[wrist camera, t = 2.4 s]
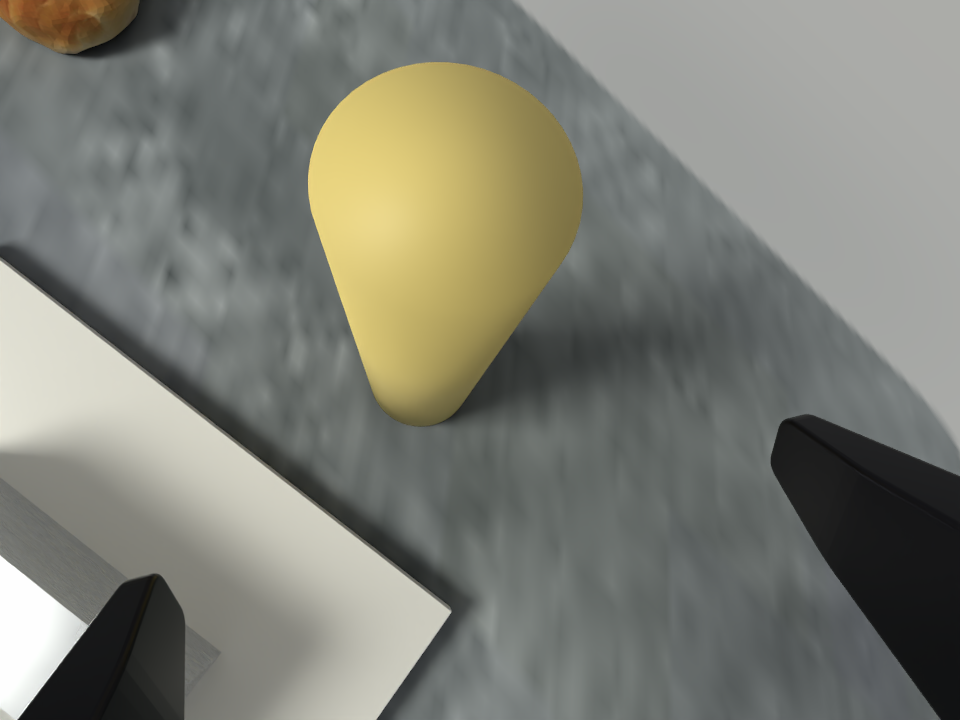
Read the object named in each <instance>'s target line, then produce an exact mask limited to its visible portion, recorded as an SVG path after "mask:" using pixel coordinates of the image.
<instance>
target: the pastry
mask: <svg viewBox="0 0 960 720" xmlns="http://www.w3.org/2000/svg"><path fill="white" fill-rule="evenodd" d="M139 2H140V0H0V17H1V18H2V19H3V20H5V21H6V22H7V23H8V24H9V25H10V26H12V27H13V28H14V29H15V30H17V31H18V32H19V33H21V34H22V35H23V36H25V37H27V38H28V39H30V40H33V41H35V42H37V43H39V44H42V45H44V46H46V47H47V48H49V49H51V50H53V51H55V52H58V53H62V54H65V53H70V54H77V53H79V52H81V51H83V50H85V49H88V48H90V47H94V46H97V45H100V44H102V43H105V42H107V41H109V40H111V39H112V38H114V37H115V36H116V35H118V34H119V33H120V32H121V31H122V30H123V29H124V28H126V27H127V26H128V25H129V24H130V23H131V21H132V20H133V19H134V18H135V17H136V15H137V13H138V6H139Z"/></svg>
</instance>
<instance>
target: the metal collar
mask: <svg viewBox="0 0 960 720" xmlns="http://www.w3.org/2000/svg"><path fill="white" fill-rule="evenodd" d="M126 580H128V578H127V577H125V576H124V575H123V574H122V573H120V572H119V571H118V570H117V569H115V568H114V567H113V566H112V565H110V564H109V563H108V562H106V561H105V560H104V559H103V558H101V557H100V556H99V555H98V554H96V553H95V552H94V551H93V550H91V549H90V548H89V547H87V546H86V545H85V544H84V543H82V542H81V541H80V540H79V539H77V538H76V537H75V536H74V535H72V534H71V533H70V532H69V531H67V530H66V529H65V528H63V527H62V526H61V525H60V524H58V523H57V522H56V521H55V520H53V519H52V518H51V517H50V516H48V515H47V514H46V513H44V512H43V511H42V510H41V509H39V508H38V507H37V506H36V505H34V504H33V503H32V502H31V501H29V500H28V499H27V498H25V497H24V496H23V495H22V494H20V493H19V492H18V491H17V490H15V489H14V488H13V487H12V486H10V485H9V484H8V483H6V482H5V481H4V480H3V479H1V478H0V708H1V709H2V710H3V711H4V712H6V713H7V714H8V715H9V716H11V717H12V718H13V719H14V720H17V719H18V717H19V716H20V715H21V713H22V712H23V711H24V709H25V708H26V707H27V705H28V704H29V703H30V702H31V700H32V699H33V698H34V696H35V695H36V694H37V692H38V691H39V690H40V689H41V687H42V686H43V685H44V683H45V682H46V681H47V679H48V678H49V677H50V675H51V674H52V673H53V672H54V670H55V669H56V668H57V666H58V665H59V664H60V662H61V661H62V660H63V658H64V657H65V656H66V655H67V653H68V652H69V651H70V649H71V648H72V647H73V645H74V644H75V643H76V642H77V640H78V639H79V638H80V636H81V635H82V634H83V632H84V631H85V630H86V628H87V627H88V626H89V625H90V623H91V622H92V621H93V619H94V618H95V617H96V615H97V614H98V613H99V611H100V610H101V609H102V608H103V606H104V605H105V604H106V602H107V601H108V600H109V598H110V597H111V596H112V595H113V593H114V592H115V591H116V589H117V588H118V587H119V586H120V585H121V584H122V583H123V582H124V581H126ZM185 627H186V631H185V698H186V697H187V696H188V694H189V693H190V692H191V691H192V689H193V688H194V687H195V685H196V684H197V683H198V682H199V680H200V679H201V678H202V677H203V675H204V674H205V673H206V671H207V670H208V669H209V668H210V666H211V665H212V664H213V663H214V661H215V660H216V659H217V658H218V656H219V655H220V654H221V652H220V651H219V650H218V649H217V648H215V647H214V646H213V645H212V644H210V643H209V642H208V641H206V640H205V639H204V638H203V637H201V636H200V635H199V634H198V633H196V632H195V631H194V630H193V629H191V628H190V627H189V626H187V625H186V624H185Z"/></svg>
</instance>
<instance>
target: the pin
mask: <svg viewBox="0 0 960 720" xmlns="http://www.w3.org/2000/svg"><path fill="white" fill-rule="evenodd" d="M308 193H309V200H310V206H311V212H312V215H313V218H314V221H315V224H316V227H317V230H318V233H319V236H320V239H321V242H322V245H323V248H324V251H325V254H326V257H327V260H328V262H329V265H330V268H331V271H332V274H333V277H334V280H335V283H336V286H337V289H338V292H339V295H340V298H341V301H342V303H343V306H344V309H345V312H346V315H347V318H348V321H349V324H350V327H351V330H352V333H353V336H354V339H355V342H356V345H357V347H358V350H359V353H360V356H361V359H362V362H363V365H364V368H365V371H366V374H367V377H368V380H369V383H370V386H371V389H372V391H373V394H374V397H375V399H376V401H377V403H378V404H379V406H380V407H381V408H382V409H383V410H384V412H385V413H387V414H388V415H389V416H390V417H392V418H393V419H395V420H397V421H399V422H401V423H403V424H406V425H411V426H420V427H421V426H430V425H434V424H437V423H440V422H442V421H444V420H446V419H448V418H449V417H451V416H452V415H453V414H454V413H455V412H456V411H457V410H458V409H459V408H460V407H461V405H462V404H463V402H464V401H465V399H466V398H467V397H468V395H469V394H470V392H471V391H472V390H473V388H474V387H475V385H476V384H477V382H478V381H479V380H480V378H481V377H482V375H483V374H484V372H485V371H486V370H487V368H488V367H489V365H490V364H491V363H492V361H493V360H494V358H495V357H496V355H497V354H498V353H499V351H500V350H501V348H502V347H503V345H504V344H505V343H506V341H507V340H508V338H509V337H510V336H511V334H512V333H513V331H514V330H515V328H516V327H517V326H518V324H519V323H520V321H521V320H522V318H523V317H524V316H525V314H526V313H527V311H528V310H529V309H530V307H531V306H532V304H533V303H534V301H535V300H536V299H537V297H538V296H539V294H540V293H541V291H542V290H543V289H544V287H545V286H546V284H547V283H548V282H549V280H550V279H551V277H552V276H553V274H554V273H555V272H556V270H557V269H558V267H559V266H560V264H561V263H562V261H563V260H564V258H565V257H566V255H567V254H568V252H569V250H570V248H571V246H572V244H573V242H574V239H575V237H576V234H577V230H578V227H579V224H580V219H581V213H582V207H583V187H582V178H581V172H580V168H579V164H578V160H577V157H576V155H575V152H574V150H573V147H572V145H571V142H570V141H569V139H568V137H567V135H566V133H565V132H564V130H563V128H562V127H561V125H560V124H559V123H558V121H557V120H556V119H555V117H554V116H553V115H552V114H551V113H550V111H549V110H548V109H547V108H546V107H545V106H544V105H543V104H542V103H541V102H540V101H539V100H537V99H536V98H535V97H534V96H533V95H532V94H530V93H529V92H528V91H526V90H525V89H523V88H522V87H520V86H519V85H517V84H516V83H514V82H512V81H510V80H508V79H506V78H504V77H502V76H500V75H498V74H495V73H493V72H490V71H487V70H485V69H481V68H477V67H473V66H469V65H464V64H457V63H447V62H430V63H420V64H413V65H409V66H404V67H400V68H396V69H394V70H391V71H388V72H385V73H383V74H380V75H378V76H377V77H375V78H373V79H371V80H369V81H367V82H365V83H364V84H362V85H361V86H360V87H358V88H357V89H355V90H354V91H353V92H351V93H350V94H349V95H348V96H347V97H346V98H345V99H344V100H343V101H341V102H340V104H339V105H338V106H337V107H336V108H335V110H334V111H333V112H332V113H331V114H330V116H329V117H328V119H327V121H326V122H325V124H324V126H323V127H322V129H321V131H320V133H319V135H318V138H317V140H316V142H315V145H314V148H313V152H312V156H311V159H310V166H309V174H308Z"/></svg>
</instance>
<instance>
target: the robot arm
mask: <svg viewBox="0 0 960 720" xmlns="http://www.w3.org/2000/svg"><path fill="white" fill-rule="evenodd" d="M771 466H772V470H773V472H774V474H775V476H776V478H777V480H778V481H779V483H780V485H781V487H782V488H783V490H784V492H785V493H786V495H787V497H788V498H789V500H790V502H791V504H792V505H793V507H794V509H795V510H796V512H797V514H798V516H799V517H800V519H801V521H802V522H803V524H804V526H805V527H806V529H807V531H808V533H809V534H810V536H811V538H812V539H813V541H814V543H815V545H816V546H817V548H818V549H819V551H820V553H821V554H822V556H823V557H824V559H825V560H826V562H827V563H828V565H829V566H830V568H831V569H832V571H833V572H834V573H835V575H836V576H837V578H838V579H839V580H840V582H841V583H842V584H843V586H844V587H845V589H846V590H847V591H848V593H849V594H850V595H851V597H852V598H853V600H854V601H855V602H856V604H857V605H858V607H859V608H860V609H861V611H862V612H863V613H864V615H865V616H866V618H867V619H868V620H869V622H870V623H871V624H872V626H873V627H874V629H875V630H876V631H877V633H878V634H879V635H880V637H881V638H882V640H883V641H884V642H885V644H886V645H887V646H888V648H889V649H890V651H891V652H892V653H893V655H894V656H895V657H896V659H897V660H898V662H899V663H900V664H901V666H902V667H903V668H904V670H905V671H906V673H907V674H908V675H909V677H910V678H911V679H912V681H913V682H914V684H915V685H916V686H917V688H918V689H919V690H920V692H921V693H922V695H923V696H924V697H925V699H926V700H927V701H928V703H929V704H930V706H931V707H932V708H933V710H934V711H935V712H936V714H937V715H938V717H939V718H940V719H941V720H960V476H958V475H956V474H953V473H951V472H948V471H946V470H944V469H941V468H939V467H936V466H934V465H932V464H929V463H927V462H924V461H922V460H920V459H917V458H915V457H912V456H910V455H908V454H905V453H903V452H900V451H898V450H896V449H893V448H891V447H888V446H886V445H884V444H881V443H879V442H876V441H874V440H872V439H869V438H867V437H864V436H862V435H860V434H857V433H855V432H852V431H850V430H848V429H845V428H843V427H840V426H838V425H836V424H833V423H831V422H828V421H826V420H824V419H821V418H819V417H816V416H814V415H809V414H805V415H800V416H796V417H792V418H788V419H785V420H783V421H782V423H781V424H780V426H779V429H778V432H777V436H776V440H775V443H774V447H773V451H772V454H771ZM185 631H186V627H185V617H184V613H183V610H182V608H181V606H180V604H179V602H178V601H177V599H176V597H175V596H174V594H173V592H172V591H171V589H170V588H169V586H168V584H167V583H166V581H165V579H164V578H163V577H162V576H161V575H160V574H157V573H152V574H148V575H143V576H139V577H135V578H131V579H128V580H126V581H124V582H123V583H122V584H121V585H120V586H119V587H118V588H117V589H116V591H115V592H114V593H113V595H112V596H111V597H110V598H109V600H108V601H107V602H106V604H105V605H104V606H103V608H102V609H101V610H100V611H99V613H98V614H97V615H96V617H95V618H94V619H93V621H92V622H91V623H90V625H89V626H88V627H87V628H86V630H85V631H84V632H83V634H82V635H81V636H80V638H79V639H78V640H77V642H76V643H75V644H74V645H73V647H72V648H71V649H70V651H69V652H68V653H67V655H66V656H65V657H64V658H63V660H62V661H61V662H60V664H59V665H58V666H57V668H56V669H55V670H54V672H53V673H52V674H51V675H50V677H49V678H48V679H47V681H46V682H45V683H44V685H43V686H42V687H41V689H40V690H39V691H38V692H37V694H36V695H35V696H34V698H33V699H32V700H31V702H30V703H29V704H28V705H27V707H26V708H25V709H24V711H23V712H22V713H21V715H20V716H19V717H18V719H17V720H184V714H185Z"/></svg>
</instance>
